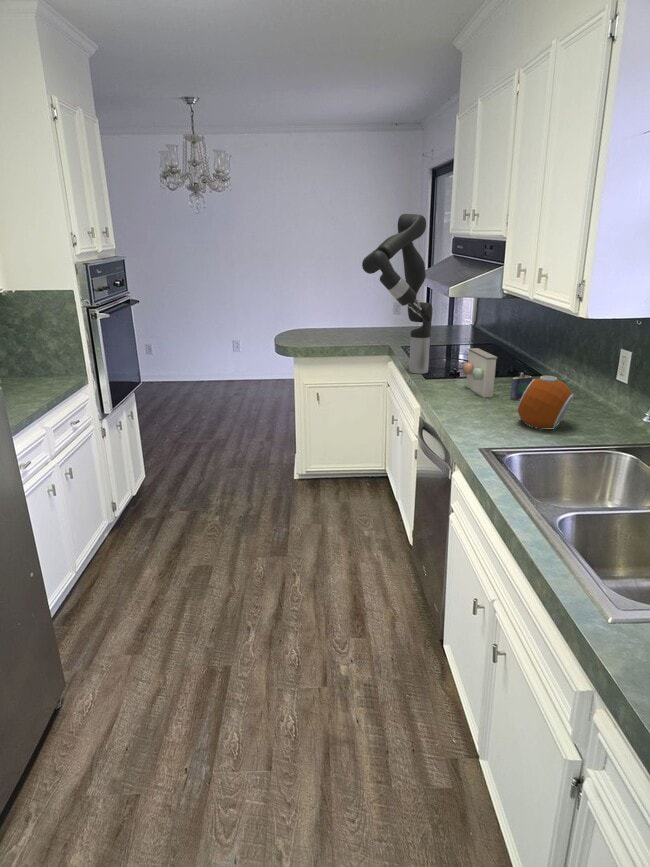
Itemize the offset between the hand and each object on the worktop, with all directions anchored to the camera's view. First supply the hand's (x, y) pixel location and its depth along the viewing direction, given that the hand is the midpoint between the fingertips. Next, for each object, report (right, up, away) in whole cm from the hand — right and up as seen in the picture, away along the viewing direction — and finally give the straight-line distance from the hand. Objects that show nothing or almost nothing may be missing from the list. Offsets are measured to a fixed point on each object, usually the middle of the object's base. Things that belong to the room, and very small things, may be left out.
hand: (428, 320), depth 242 cm
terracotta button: (+21, -21, +9) cm, 32 cm away
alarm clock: (+35, -44, -34) cm, 65 cm away
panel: (+23, -29, +7) cm, 38 cm away
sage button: (+23, -25, 0) cm, 34 cm away
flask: (+37, -33, -3) cm, 50 cm away
